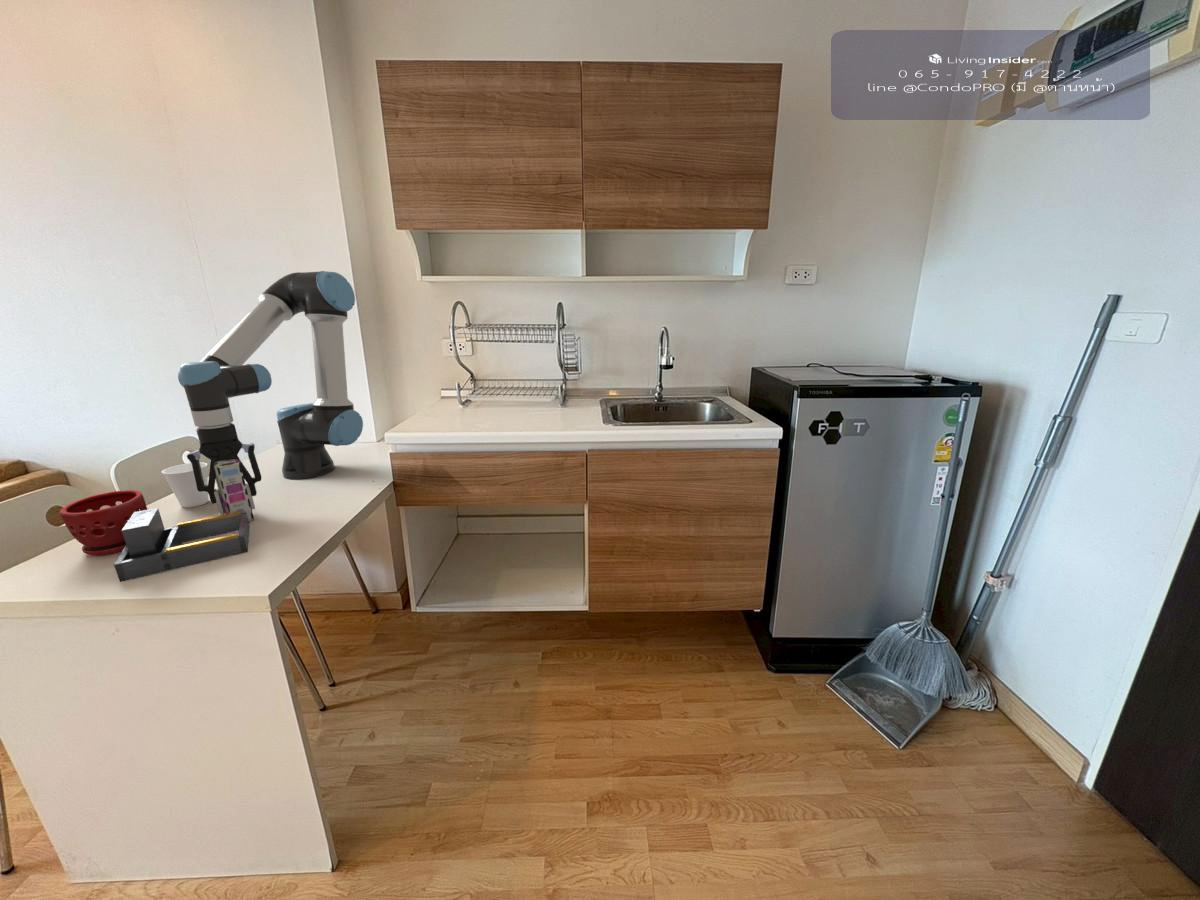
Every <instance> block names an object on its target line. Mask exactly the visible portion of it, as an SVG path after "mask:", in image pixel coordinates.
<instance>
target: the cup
mask: <svg viewBox="0 0 1200 900" xmlns="http://www.w3.org/2000/svg"><path fill="white" fill-rule="evenodd" d="M199 462H200V461H199ZM208 465H209V464H208V463H207V462H203V461H202V462H200V466H201V471H202V476H203V480H204V485H208V481H209V476H208ZM161 474H163V476H164V478H165V480H166V481H167V483H168V485H169V487H170V488H171V490H172V492H173V494H174V496H175V497H176V500H177V501H178V503H179V505H180V507H182V508H185V509H187V508H188V509H189V508H195V507H200V506H203V505H205V504H206V503H208V502H209V500H210V497H209V493H208V492H205V491H202V492H199V491H198V490H197V485H196V481H195V476H194V472H193V467H192V463H191V462H188V463H182V464H178V465H176V464H175V465H173V466H170V467H167V468H165V469H162V470H161Z"/></svg>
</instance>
